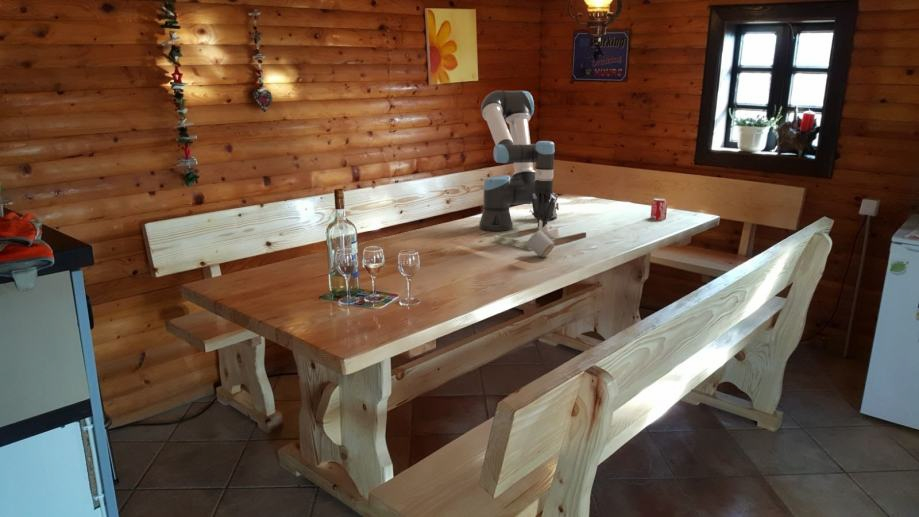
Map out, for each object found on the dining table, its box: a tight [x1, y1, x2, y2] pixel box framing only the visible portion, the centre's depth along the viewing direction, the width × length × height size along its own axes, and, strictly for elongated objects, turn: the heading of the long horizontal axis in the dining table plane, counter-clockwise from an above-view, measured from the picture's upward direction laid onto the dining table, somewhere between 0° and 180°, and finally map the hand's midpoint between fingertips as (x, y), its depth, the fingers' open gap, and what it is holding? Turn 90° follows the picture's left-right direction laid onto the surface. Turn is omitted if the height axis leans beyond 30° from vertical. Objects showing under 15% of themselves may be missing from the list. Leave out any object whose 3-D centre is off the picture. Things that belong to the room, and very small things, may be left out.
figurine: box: [530, 192, 560, 220], centre depth 318 cm, size 9×12×15 cm
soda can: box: [650, 197, 668, 221], centre depth 317 cm, size 7×7×12 cm
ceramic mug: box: [526, 230, 555, 258], centre depth 254 cm, size 11×8×8 cm
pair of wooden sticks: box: [493, 226, 587, 251], centre depth 282 cm, size 21×34×2 cm, turn 133°
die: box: [540, 223, 561, 239], centre depth 278 cm, size 8×9×10 cm
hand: (542, 235), depth 283 cm, fingers closed
